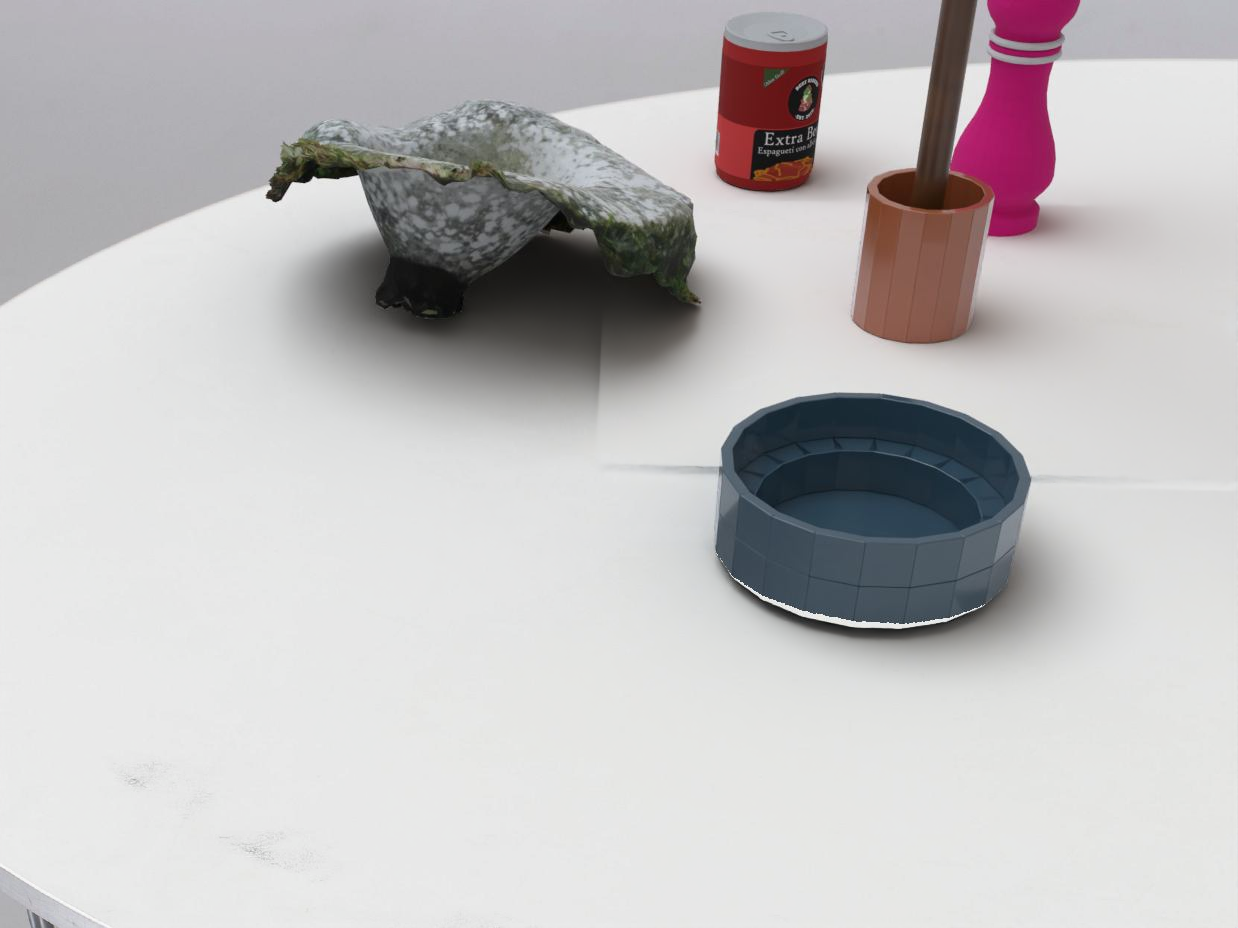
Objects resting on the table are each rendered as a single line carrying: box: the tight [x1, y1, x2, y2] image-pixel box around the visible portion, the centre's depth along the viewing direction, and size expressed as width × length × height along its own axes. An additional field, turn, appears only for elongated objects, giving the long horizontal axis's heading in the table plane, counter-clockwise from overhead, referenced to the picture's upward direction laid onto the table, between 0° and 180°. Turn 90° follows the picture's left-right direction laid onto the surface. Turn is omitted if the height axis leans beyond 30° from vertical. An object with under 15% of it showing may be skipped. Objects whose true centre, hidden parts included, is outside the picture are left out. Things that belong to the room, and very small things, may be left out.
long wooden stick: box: [910, 0, 978, 210], centre depth 100 cm, size 2×4×24 cm, turn 176°
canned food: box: [714, 11, 829, 192], centre depth 125 cm, size 8×8×11 cm
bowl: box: [713, 391, 1032, 624], centre depth 85 cm, size 15×15×6 cm
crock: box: [850, 167, 995, 345], centre depth 105 cm, size 8×8×9 cm
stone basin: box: [265, 98, 703, 320], centre depth 107 cm, size 29×30×15 cm
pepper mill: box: [949, 0, 1081, 238], centre depth 114 cm, size 7×7×20 cm
